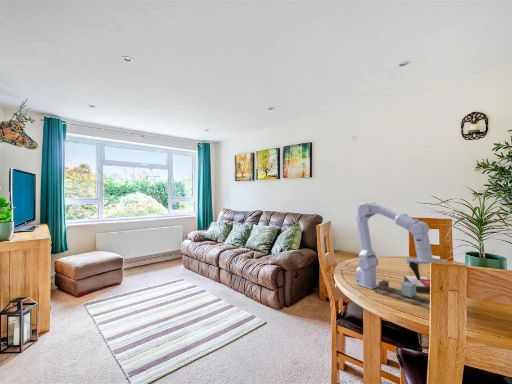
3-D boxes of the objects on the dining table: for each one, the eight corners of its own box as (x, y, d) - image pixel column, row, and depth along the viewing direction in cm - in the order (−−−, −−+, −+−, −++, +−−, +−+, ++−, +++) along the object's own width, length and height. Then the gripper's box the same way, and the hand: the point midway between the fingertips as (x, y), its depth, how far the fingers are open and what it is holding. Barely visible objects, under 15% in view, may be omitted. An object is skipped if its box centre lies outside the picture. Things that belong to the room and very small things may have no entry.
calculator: (413, 285, 121) (403, 274, 135) (413, 293, 121) (403, 281, 135) (439, 287, 118) (426, 275, 132) (439, 296, 118) (426, 283, 132)
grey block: (401, 294, 113) (401, 283, 113) (406, 291, 116) (406, 281, 116) (411, 297, 110) (411, 286, 110) (416, 294, 113) (416, 283, 113)
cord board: (374, 292, 121) (374, 283, 121) (384, 287, 127) (384, 278, 127) (434, 311, 101) (434, 300, 101) (442, 304, 107) (442, 294, 107)
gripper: (402, 250, 111) (407, 281, 109) (441, 250, 101) (448, 284, 99) (406, 248, 116) (412, 277, 114) (444, 248, 106) (450, 280, 104)
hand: (429, 280), depth 107 cm, fingers open, 7 cm apart
